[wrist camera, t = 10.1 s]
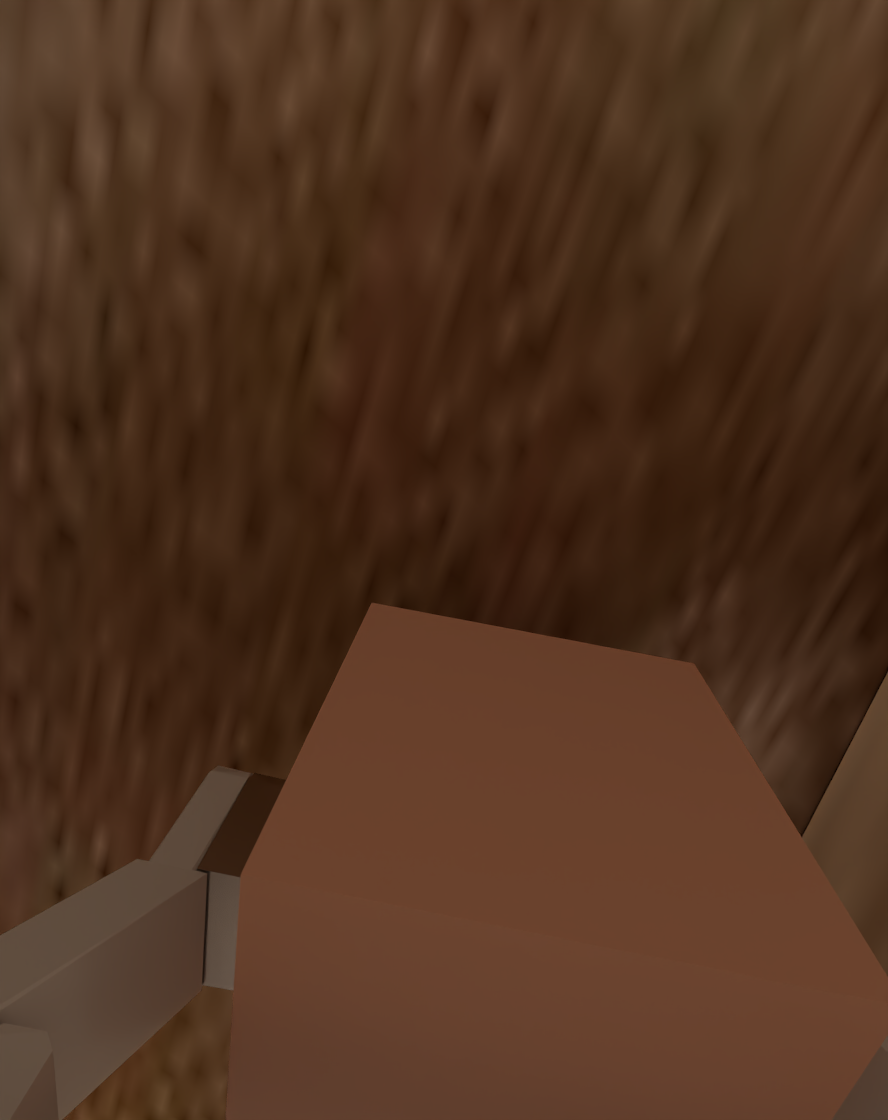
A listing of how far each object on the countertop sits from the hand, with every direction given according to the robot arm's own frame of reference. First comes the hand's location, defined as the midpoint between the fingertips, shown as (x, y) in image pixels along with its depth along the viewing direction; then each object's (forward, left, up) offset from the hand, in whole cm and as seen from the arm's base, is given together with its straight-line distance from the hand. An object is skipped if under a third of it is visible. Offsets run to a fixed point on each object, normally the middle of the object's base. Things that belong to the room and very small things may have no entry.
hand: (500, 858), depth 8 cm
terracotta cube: (0, 0, -2) cm, 2 cm away
